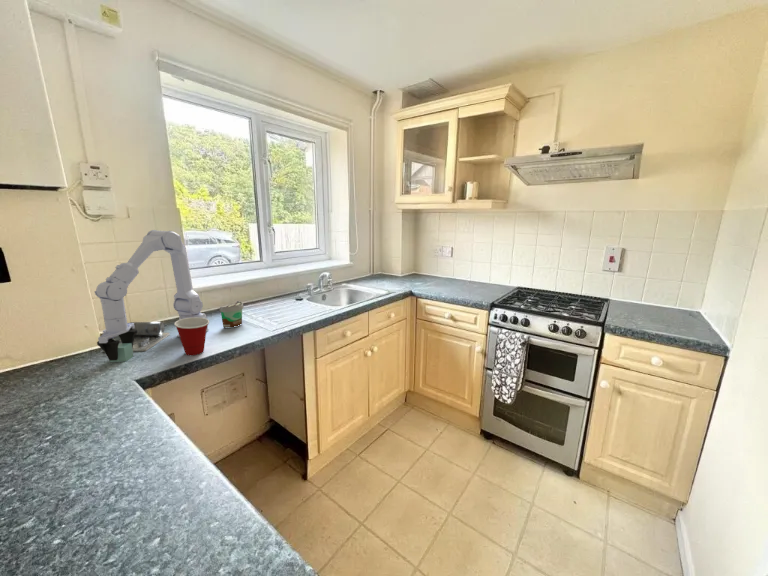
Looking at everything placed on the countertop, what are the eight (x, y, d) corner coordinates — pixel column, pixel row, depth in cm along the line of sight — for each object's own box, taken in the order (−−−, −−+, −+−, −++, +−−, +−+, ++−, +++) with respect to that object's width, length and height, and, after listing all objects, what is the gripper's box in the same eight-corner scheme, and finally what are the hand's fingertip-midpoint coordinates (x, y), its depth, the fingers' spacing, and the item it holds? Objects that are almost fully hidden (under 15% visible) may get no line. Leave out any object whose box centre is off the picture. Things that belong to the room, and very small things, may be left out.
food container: (233, 330, 139) (231, 308, 137) (221, 329, 140) (219, 307, 138) (250, 321, 151) (249, 301, 149) (238, 320, 152) (237, 300, 150)
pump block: (133, 356, 111) (131, 343, 110) (126, 361, 107) (123, 347, 106) (117, 357, 110) (115, 343, 109) (109, 362, 107) (107, 348, 105)
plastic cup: (200, 359, 110) (197, 326, 108) (170, 358, 111) (166, 325, 108) (218, 347, 121) (215, 317, 118) (190, 346, 121) (187, 316, 119)
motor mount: (169, 334, 132) (167, 319, 130) (145, 351, 116) (143, 333, 114) (132, 335, 130) (130, 320, 128) (103, 352, 114) (100, 334, 112)
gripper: (116, 311, 112) (122, 347, 115) (84, 324, 98) (92, 365, 101) (138, 311, 113) (143, 346, 116) (109, 324, 99) (116, 364, 102)
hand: (121, 355), depth 108 cm, fingers open, 7 cm apart
